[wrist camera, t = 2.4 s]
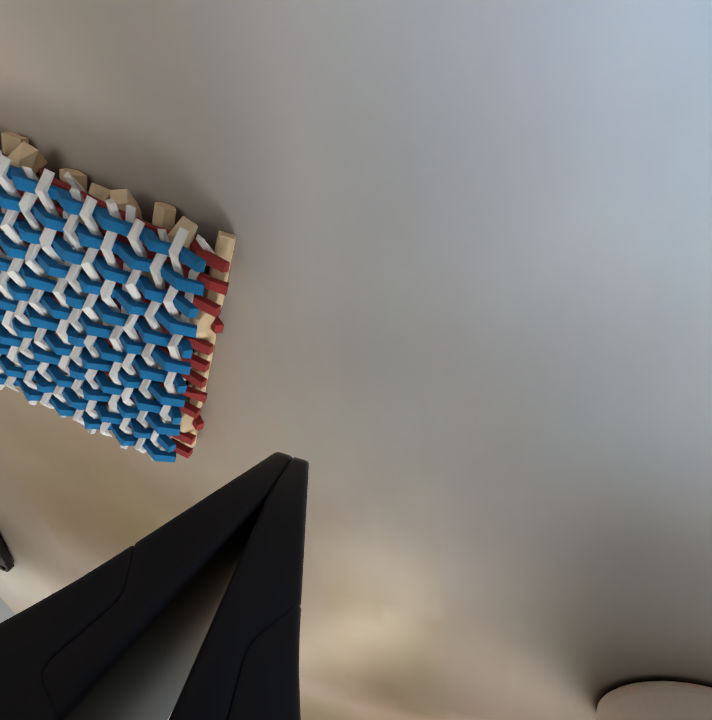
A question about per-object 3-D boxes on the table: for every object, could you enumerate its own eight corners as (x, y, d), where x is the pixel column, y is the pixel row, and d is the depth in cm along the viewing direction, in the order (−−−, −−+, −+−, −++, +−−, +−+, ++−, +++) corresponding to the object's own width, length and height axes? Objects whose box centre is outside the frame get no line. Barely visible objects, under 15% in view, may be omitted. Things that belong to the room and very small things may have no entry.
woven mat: (206, 451, 16) (177, 483, 14) (8, 357, 16) (-45, 376, 14) (255, 240, 11) (220, 248, 9) (-32, 106, 11) (-121, 89, 9)
